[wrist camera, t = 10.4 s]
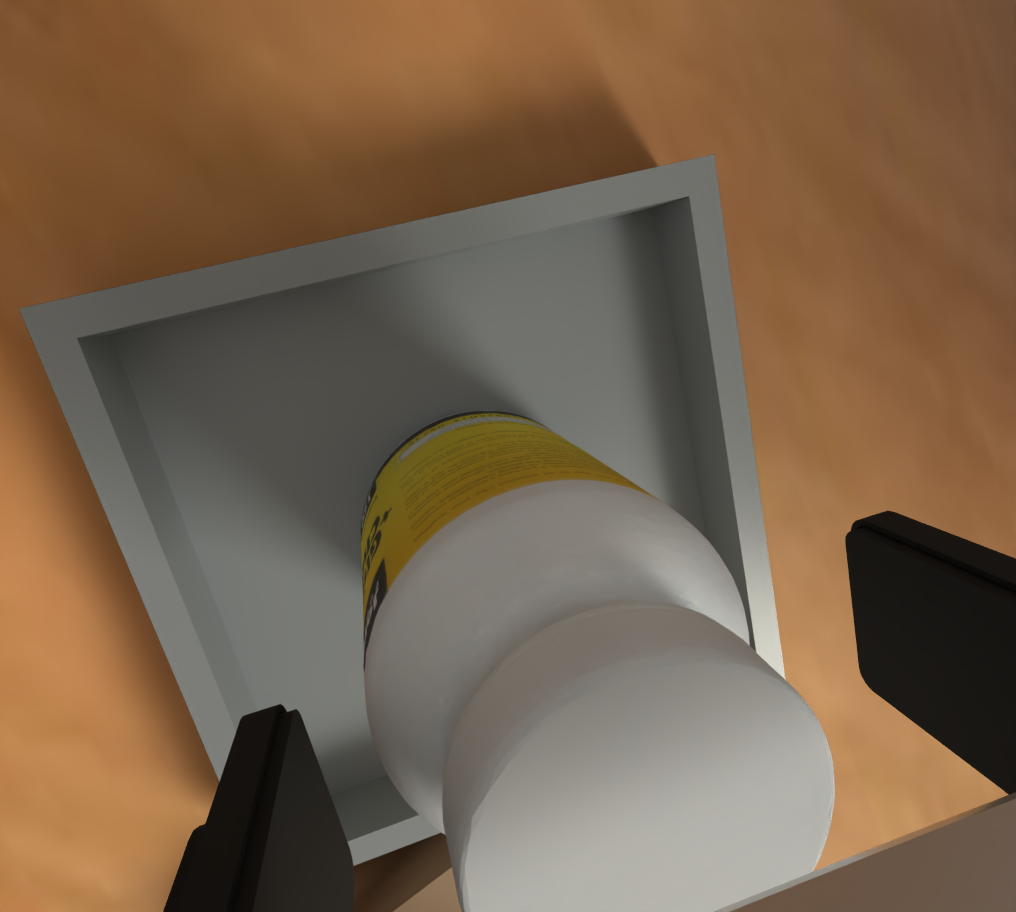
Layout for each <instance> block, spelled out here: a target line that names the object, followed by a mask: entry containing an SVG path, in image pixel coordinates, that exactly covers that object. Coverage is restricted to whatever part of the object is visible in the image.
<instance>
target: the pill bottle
mask: <svg viewBox="0 0 1016 912" xmlns="http://www.w3.org/2000/svg"><path fill="white" fill-rule="evenodd" d="M360 535H361V560H362V589H363V627H364V632H363V640H364V649H363V650H364V664H363V668H364V683H365V700H366V709H367V717H368V722H369V727H370V731H371V735H372V738H373V741H374V744H375V747H376V750H377V753H378V755H379V758H380V760H381V762H382V764H383V766H384V769H385V770H386V772H387V774H388V776H389V778H390V779H391V781H392V783H393V784H394V786H395V787H396V788H397V790H398V791H399V793H400V794H401V796H402V797H403V799H404V800H405V801H406V802H407V803H408V804H409V805H410V806H411V807H412V808H413V809H414V810H415V811H416V812H417V813H418V814H419V815H420V816H421V817H422V818H423V819H424V820H425V821H426V822H427V823H429V824H430V825H431V826H433V827H434V828H436V829H437V830H438V831H440V832H441V833H443V834H444V835H446V840H447V845H448V850H449V855H450V860H451V865H452V870H453V875H454V880H455V885H456V891H457V896H458V900H459V904H460V907H461V910H462V912H713V911H715V910H718V909H720V908H723V907H725V906H728V905H731V904H733V903H736V902H738V901H741V900H743V899H746V898H748V897H751V896H753V895H756V894H758V893H761V892H763V891H766V890H768V889H771V888H773V887H776V886H778V885H781V884H783V883H786V882H788V881H791V880H793V879H796V878H799V877H801V876H804V875H806V874H809V873H811V872H813V870H814V867H815V866H816V864H817V862H818V860H819V859H820V856H821V853H822V851H823V848H824V845H825V842H826V839H827V836H828V831H829V828H830V825H831V819H832V813H833V805H834V797H835V785H834V770H833V759H832V756H831V753H830V749H829V746H828V742H827V739H826V736H825V734H824V732H823V730H822V727H821V725H820V722H819V721H818V719H817V717H816V716H815V714H814V713H813V711H812V709H811V708H810V707H809V705H808V704H807V703H806V702H805V700H804V699H803V698H802V697H801V696H800V694H799V693H798V692H797V691H796V690H795V689H794V688H793V687H792V686H791V685H790V684H789V683H788V682H787V681H786V680H785V679H784V678H783V677H782V676H781V675H780V674H779V673H777V672H776V671H775V670H774V669H773V668H772V667H771V666H770V665H769V664H768V663H767V662H766V661H765V660H764V659H763V658H761V657H760V656H759V655H758V654H757V653H756V652H755V651H754V650H753V649H752V648H751V647H750V643H749V632H748V626H747V621H746V616H745V611H744V607H743V603H742V600H741V597H740V594H739V592H738V589H737V587H736V584H735V581H734V579H733V577H732V575H731V573H730V572H729V570H728V569H727V567H726V565H725V564H724V562H723V560H722V559H721V557H720V555H719V554H718V553H717V551H716V550H715V549H714V547H713V546H712V545H711V544H710V542H709V541H708V540H707V539H706V538H705V537H704V536H703V535H702V534H701V533H700V531H698V530H697V529H696V528H695V527H694V526H693V525H692V524H691V523H690V522H689V521H687V520H686V519H685V518H684V517H682V516H681V515H680V514H679V513H677V512H676V511H675V510H674V509H672V508H671V507H669V506H668V505H666V504H665V503H663V502H662V501H660V500H659V499H657V498H656V497H654V496H653V495H651V494H649V493H648V492H646V491H645V490H643V489H642V488H640V487H639V486H637V485H636V484H634V483H633V482H631V481H630V480H628V479H627V478H625V477H624V476H622V475H621V474H619V473H618V472H616V471H615V470H613V469H612V468H610V467H609V466H607V465H606V464H604V463H602V462H601V461H599V460H598V459H596V458H595V457H593V456H592V455H590V454H589V453H587V452H585V451H584V450H582V449H581V448H579V447H577V446H576V445H574V444H572V443H571V442H569V441H568V440H566V439H564V438H563V437H561V436H560V435H558V434H557V433H555V432H554V431H552V430H550V429H549V428H547V427H546V426H544V425H542V424H540V423H538V422H536V421H534V420H531V419H529V418H527V417H524V416H521V415H517V414H513V413H509V412H503V411H494V410H476V411H467V412H461V413H457V414H452V415H449V416H446V417H443V418H441V419H438V420H436V421H433V422H431V423H429V424H427V425H426V426H424V427H422V428H421V429H419V430H417V431H416V432H414V433H413V434H411V435H410V436H409V437H407V438H406V439H405V440H404V441H402V442H401V443H400V444H399V445H398V446H397V447H396V448H395V449H394V450H393V452H392V453H391V454H390V455H389V456H388V457H387V459H386V460H385V461H384V463H383V464H382V466H381V467H380V469H379V471H378V472H377V474H376V476H375V478H374V480H373V482H372V484H371V487H370V489H369V492H368V494H367V497H366V501H365V504H364V508H363V514H362V520H361V531H360Z"/></svg>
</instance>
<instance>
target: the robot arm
mask: <svg viewBox="0 0 1016 912" xmlns="http://www.w3.org/2000/svg"><path fill="white" fill-rule="evenodd" d="M846 552H847V561H848V570H849V579H850V589H851V598H852V607H853V616H854V625H855V634H856V643H857V652H858V662H859V669H860V673H861V675H862V678H863V679H864V681H865V683H866V684H867V685H868V687H869V688H870V689H871V690H872V691H873V692H875V693H876V694H877V695H879V696H880V697H881V698H883V699H884V700H885V701H887V702H888V703H889V704H891V705H892V706H893V707H895V708H896V709H897V710H898V711H900V712H901V713H902V714H904V715H905V716H906V717H908V718H909V719H910V720H912V721H913V722H914V723H916V724H917V725H918V726H920V727H921V728H922V729H923V730H925V731H926V732H927V733H929V734H930V735H931V736H933V737H934V738H935V739H937V740H938V741H939V742H941V743H942V744H943V745H945V746H946V747H947V748H948V749H950V750H951V751H952V752H954V753H955V754H956V755H958V756H959V757H960V758H962V759H963V760H964V761H966V762H967V763H968V764H970V765H971V766H972V767H973V768H975V769H976V770H977V771H979V772H980V773H981V774H983V775H984V776H985V777H987V778H988V779H989V780H991V781H992V782H993V783H995V784H996V785H997V786H998V787H1000V788H1001V789H1002V790H1004V791H1005V792H1006V793H1008V794H1009V795H1007V796H1005V797H1002V798H1000V799H997V800H995V801H992V802H989V803H987V804H984V805H982V806H979V807H976V808H974V809H971V810H969V811H966V812H964V813H961V814H958V815H956V816H953V817H951V818H948V819H946V820H943V821H940V822H938V823H935V824H933V825H930V826H928V827H925V828H923V829H920V830H918V831H915V832H912V833H910V834H907V835H905V836H902V837H900V838H897V839H895V840H892V841H890V842H887V843H885V844H882V845H879V846H877V847H874V848H872V849H869V850H867V851H864V852H862V853H859V854H857V855H854V856H852V857H849V858H846V859H844V860H841V861H839V862H836V863H834V864H831V865H829V866H826V867H824V868H821V869H819V870H816V871H814V872H811V873H809V874H806V875H804V876H801V877H799V878H796V879H793V880H791V881H788V882H786V883H783V884H781V885H778V886H776V887H773V888H771V889H768V890H766V891H763V892H761V893H758V894H756V895H753V896H751V897H748V898H746V899H743V900H741V901H738V902H736V903H733V904H731V905H728V906H725V907H723V908H720V909H718V910H715V911H713V912H1016V559H1015V558H1013V557H1010V556H1007V555H1005V554H1002V553H999V552H997V551H994V550H992V549H989V548H986V547H984V546H981V545H979V544H976V543H973V542H971V541H968V540H966V539H963V538H960V537H958V536H955V535H953V534H950V533H947V532H945V531H942V530H940V529H937V528H934V527H932V526H929V525H926V524H924V523H921V522H919V521H916V520H913V519H911V518H908V517H906V516H903V515H900V514H898V513H895V512H892V511H885V512H882V513H879V514H875V515H872V516H869V517H866V518H863V519H860V520H857V521H855V522H854V523H853V525H852V528H851V531H850V532H849V533H848V534H847V535H846ZM353 895H354V866H353V860H352V855H351V851H350V848H349V845H348V842H347V839H346V837H345V834H344V831H343V828H342V826H341V823H340V820H339V817H338V815H337V812H336V809H335V806H334V804H333V801H332V798H331V796H330V793H329V790H328V787H327V785H326V782H325V779H324V776H323V774H322V771H321V768H320V765H319V763H318V760H317V757H316V755H315V752H314V749H313V746H312V744H311V741H310V738H309V735H308V733H307V730H306V727H305V724H304V722H303V719H302V717H301V714H300V712H299V711H298V710H297V709H295V710H291V711H288V712H287V711H286V709H285V707H284V706H283V705H282V704H278V705H275V706H272V707H269V708H266V709H263V710H259V711H256V712H253V713H250V714H247V715H244V716H242V718H241V719H240V722H239V725H238V728H237V731H236V734H235V737H234V740H233V743H232V746H231V749H230V752H229V755H228V758H227V761H226V764H225V767H224V770H223V773H222V776H221V779H220V782H219V785H218V788H217V791H216V794H215V797H214V800H213V803H212V806H211V809H210V812H209V815H208V818H207V821H206V824H204V825H201V826H199V827H198V828H196V829H195V830H194V831H193V833H192V835H191V837H190V838H189V841H188V843H187V846H186V849H185V852H184V855H183V858H182V860H181V863H180V866H179V869H178V872H177V874H176V877H175V880H174V883H173V886H172V889H171V891H170V894H169V897H168V900H167V903H166V905H165V908H164V911H163V912H353Z"/></svg>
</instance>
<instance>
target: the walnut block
mask: <svg viewBox="0 0 1016 912" xmlns="http://www.w3.org/2000/svg"><path fill="white" fill-rule="evenodd" d="M353 912H462V910H461V907H460V904H459V900H458V896H457V891H456V885H455V880H454V875H453V870H452V865H451V860H450V855H449V850H448V845H447V840H446V835H444V834H443V833H439V834H436V835H433V836H431V837H428V838H426V839H423V840H420V841H418V842H415V843H412V844H410V845H407V846H405V847H402V848H399V849H397V850H394V851H391V852H389V853H386V854H384V855H381V856H378V857H376V858H373V859H370V860H368V861H365V862H363V863H360V864H357V865H355V866H354V895H353Z"/></svg>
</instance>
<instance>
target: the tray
mask: <svg viewBox="0 0 1016 912" xmlns="http://www.w3.org/2000/svg"><path fill="white" fill-rule="evenodd" d="M19 310H20V312H21V315H22V317H23V319H24V322H25V324H26V326H27V329H28V331H29V334H30V336H31V338H32V341H33V343H34V345H35V348H36V350H37V352H38V355H39V357H40V360H41V362H42V364H43V367H44V369H45V371H46V374H47V376H48V378H49V381H50V383H51V386H52V388H53V390H54V393H55V395H56V397H57V400H58V402H59V404H60V407H61V409H62V411H63V414H64V416H65V419H66V421H67V423H68V426H69V428H70V430H71V433H72V435H73V437H74V440H75V442H76V445H77V447H78V449H79V452H80V454H81V456H82V459H83V461H84V463H85V466H86V468H87V471H88V473H89V475H90V478H91V480H92V482H93V485H94V487H95V489H96V492H97V494H98V497H99V499H100V501H101V504H102V506H103V508H104V511H105V513H106V515H107V518H108V520H109V522H110V525H111V527H112V530H113V532H114V534H115V537H116V539H117V541H118V544H119V546H120V548H121V551H122V553H123V556H124V558H125V560H126V563H127V565H128V567H129V570H130V572H131V574H132V577H133V579H134V582H135V584H136V586H137V589H138V591H139V593H140V596H141V598H142V600H143V603H144V605H145V608H146V610H147V612H148V615H149V617H150V619H151V622H152V624H153V626H154V629H155V631H156V634H157V636H158V638H159V641H160V643H161V645H162V648H163V650H164V652H165V655H166V657H167V659H168V662H169V664H170V667H171V669H172V671H173V674H174V676H175V678H176V681H177V683H178V685H179V688H180V690H181V693H182V695H183V697H184V700H185V702H186V704H187V707H188V709H189V711H190V714H191V716H192V719H193V721H194V723H195V726H196V728H197V730H198V733H199V735H200V737H201V740H202V742H203V745H204V747H205V749H206V752H207V754H208V756H209V759H210V761H211V763H212V766H213V768H214V770H215V773H216V775H217V778H218V780H219V782H220V779H221V776H222V773H223V770H224V767H225V764H226V761H227V758H228V755H229V752H230V749H231V746H232V743H233V740H234V737H235V734H236V731H237V728H238V725H239V722H240V719H241V718H242V716H244V715H247V714H250V713H253V712H256V711H259V710H263V709H266V708H269V707H272V706H275V705H278V704H282V705H283V706H284V707H285V709H286V711H287V712H288V711H291V710H295V709H297V710H298V711H299V712H300V714H301V717H302V719H303V722H304V724H305V727H306V730H307V733H308V735H309V738H310V741H311V744H312V746H313V749H314V752H315V755H316V757H317V760H318V763H319V765H320V768H321V771H322V774H323V776H324V779H325V782H326V785H327V787H328V790H329V793H330V796H331V798H332V801H333V804H334V806H335V809H336V812H337V815H338V817H339V820H340V823H341V826H342V828H343V831H344V834H345V837H346V839H347V842H348V845H349V848H350V851H351V855H352V860H353V866H355V865H357V864H360V863H363V862H365V861H368V860H370V859H373V858H376V857H378V856H381V855H384V854H386V853H389V852H391V851H394V850H397V849H399V848H402V847H405V846H407V845H410V844H412V843H415V842H418V841H420V840H423V839H426V838H428V837H431V836H433V835H436V834H439V833H441V832H440V831H438V830H437V829H436V828H434V827H433V826H431V825H430V824H429V823H427V822H426V821H425V820H424V819H423V818H422V817H421V816H420V815H419V814H418V813H417V812H416V811H415V810H414V809H413V808H412V807H411V806H410V805H409V804H408V803H407V802H406V801H405V800H404V799H403V797H402V796H401V794H400V793H399V791H398V790H397V788H396V787H395V786H394V784H393V783H392V781H391V779H390V778H389V776H388V774H387V772H386V770H385V769H384V766H383V764H382V762H381V760H380V758H379V755H378V753H377V750H376V747H375V744H374V741H373V738H372V735H371V731H370V727H369V722H368V717H367V709H366V700H365V683H364V668H363V664H364V650H363V649H364V640H363V632H364V627H363V589H362V560H361V535H360V531H361V520H362V514H363V508H364V504H365V501H366V497H367V494H368V492H369V489H370V487H371V484H372V482H373V480H374V478H375V476H376V474H377V472H378V471H379V469H380V467H381V466H382V464H383V463H384V461H385V460H386V459H387V457H388V456H389V455H390V454H391V453H392V452H393V450H394V449H395V448H396V447H397V446H398V445H399V444H400V443H401V442H402V441H404V440H405V439H406V438H407V437H409V436H410V435H411V434H413V433H414V432H416V431H417V430H419V429H421V428H422V427H424V426H426V425H427V424H429V423H431V422H433V421H436V420H438V419H441V418H443V417H446V416H449V415H452V414H457V413H461V412H467V411H476V410H494V411H503V412H509V413H513V414H517V415H521V416H524V417H527V418H529V419H531V420H534V421H536V422H538V423H540V424H542V425H544V426H546V427H547V428H549V429H550V430H552V431H554V432H555V433H557V434H558V435H560V436H561V437H563V438H564V439H566V440H568V441H569V442H571V443H572V444H574V445H576V446H577V447H579V448H581V449H582V450H584V451H585V452H587V453H589V454H590V455H592V456H593V457H595V458H596V459H598V460H599V461H601V462H602V463H604V464H606V465H607V466H609V467H610V468H612V469H613V470H615V471H616V472H618V473H619V474H621V475H622V476H624V477H625V478H627V479H628V480H630V481H631V482H633V483H634V484H636V485H637V486H639V487H640V488H642V489H643V490H645V491H646V492H648V493H649V494H651V495H653V496H654V497H656V498H657V499H659V500H660V501H662V502H663V503H665V504H666V505H668V506H669V507H671V508H672V509H674V510H675V511H676V512H677V513H679V514H680V515H681V516H682V517H684V518H685V519H686V520H687V521H689V522H690V523H691V524H692V525H693V526H694V527H695V528H696V529H697V530H698V531H700V533H701V534H702V535H703V536H704V537H705V538H706V539H707V540H708V541H709V542H710V544H711V545H712V546H713V547H714V549H715V550H716V551H717V553H718V554H719V555H720V557H721V559H722V560H723V562H724V564H725V565H726V567H727V569H728V570H729V572H730V573H731V575H732V577H733V579H734V581H735V584H736V587H737V589H738V592H739V594H740V597H741V600H742V603H743V607H744V611H745V616H746V621H747V626H748V632H749V643H750V647H751V648H752V649H753V650H754V651H755V652H756V653H757V654H758V655H759V656H760V657H761V658H763V659H764V660H765V661H766V662H767V663H768V664H769V665H770V666H771V667H772V668H773V669H774V670H775V671H776V672H777V673H779V674H780V675H781V676H782V677H783V678H784V679H785V674H784V666H783V659H782V651H781V644H780V637H779V629H778V622H777V615H776V607H775V600H774V592H773V585H772V578H771V570H770V563H769V555H768V548H767V541H766V533H765V526H764V518H763V511H762V504H761V496H760V489H759V481H758V474H757V467H756V459H755V452H754V445H753V437H752V430H751V422H750V415H749V408H748V400H747V393H746V385H745V378H744V371H743V363H742V356H741V348H740V341H739V334H738V326H737V319H736V311H735V304H734V297H733V289H732V282H731V274H730V267H729V260H728V252H727V245H726V238H725V230H724V223H723V215H722V208H721V201H720V193H719V186H718V178H717V171H716V164H715V156H714V154H713V155H708V156H704V157H699V158H695V159H690V160H686V161H681V162H677V163H672V164H668V165H663V166H659V167H654V168H650V169H645V170H641V171H636V172H632V173H627V174H623V175H618V176H614V177H609V178H605V179H600V180H596V181H591V182H587V183H582V184H578V185H573V186H569V187H564V188H560V189H555V190H551V191H546V192H542V193H537V194H533V195H528V196H524V197H519V198H515V199H510V200H506V201H501V202H497V203H492V204H488V205H483V206H479V207H474V208H470V209H465V210H461V211H456V212H452V213H447V214H443V215H438V216H434V217H429V218H425V219H420V220H416V221H411V222H407V223H402V224H398V225H393V226H389V227H384V228H380V229H375V230H371V231H366V232H362V233H357V234H353V235H348V236H344V237H339V238H335V239H330V240H326V241H321V242H317V243H312V244H308V245H303V246H299V247H294V248H290V249H285V250H281V251H276V252H272V253H267V254H263V255H258V256H254V257H249V258H245V259H240V260H236V261H231V262H227V263H222V264H218V265H213V266H209V267H204V268H200V269H195V270H191V271H186V272H182V273H177V274H173V275H168V276H164V277H159V278H155V279H150V280H146V281H141V282H137V283H132V284H128V285H123V286H119V287H114V288H110V289H105V290H101V291H96V292H92V293H87V294H83V295H78V296H74V297H69V298H65V299H60V300H56V301H51V302H47V303H42V304H38V305H33V306H29V307H24V308H20V309H19Z"/></svg>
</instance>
